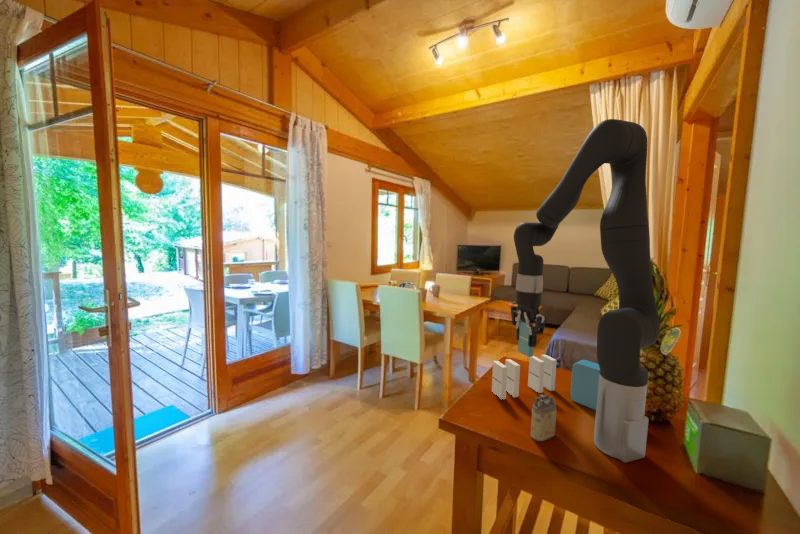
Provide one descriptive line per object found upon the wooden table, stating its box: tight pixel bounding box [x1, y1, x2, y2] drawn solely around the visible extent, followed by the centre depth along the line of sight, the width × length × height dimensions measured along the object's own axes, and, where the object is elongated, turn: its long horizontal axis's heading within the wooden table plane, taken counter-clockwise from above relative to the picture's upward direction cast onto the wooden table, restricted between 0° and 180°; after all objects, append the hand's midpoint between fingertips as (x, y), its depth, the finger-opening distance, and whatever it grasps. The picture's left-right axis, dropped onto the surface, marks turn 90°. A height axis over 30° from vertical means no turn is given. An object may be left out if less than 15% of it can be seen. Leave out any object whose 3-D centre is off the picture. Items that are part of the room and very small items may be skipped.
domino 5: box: [540, 354, 557, 392], centre depth 108 cm, size 2×5×10 cm, turn 18°
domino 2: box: [504, 358, 521, 398], centre depth 104 cm, size 2×5×10 cm, turn 18°
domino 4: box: [527, 355, 545, 394], centre depth 107 cm, size 2×5×10 cm, turn 18°
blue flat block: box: [570, 359, 600, 411], centre depth 97 cm, size 12×4×12 cm, turn 38°
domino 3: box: [517, 321, 535, 358], centre depth 104 cm, size 2×5×10 cm, turn 18°
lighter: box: [530, 393, 558, 442], centre depth 83 cm, size 7×4×10 cm, turn 120°
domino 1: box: [491, 360, 507, 400], centre depth 103 cm, size 2×5×10 cm, turn 18°
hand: (525, 343), depth 104 cm, fingers closed on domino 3, 5 cm apart
